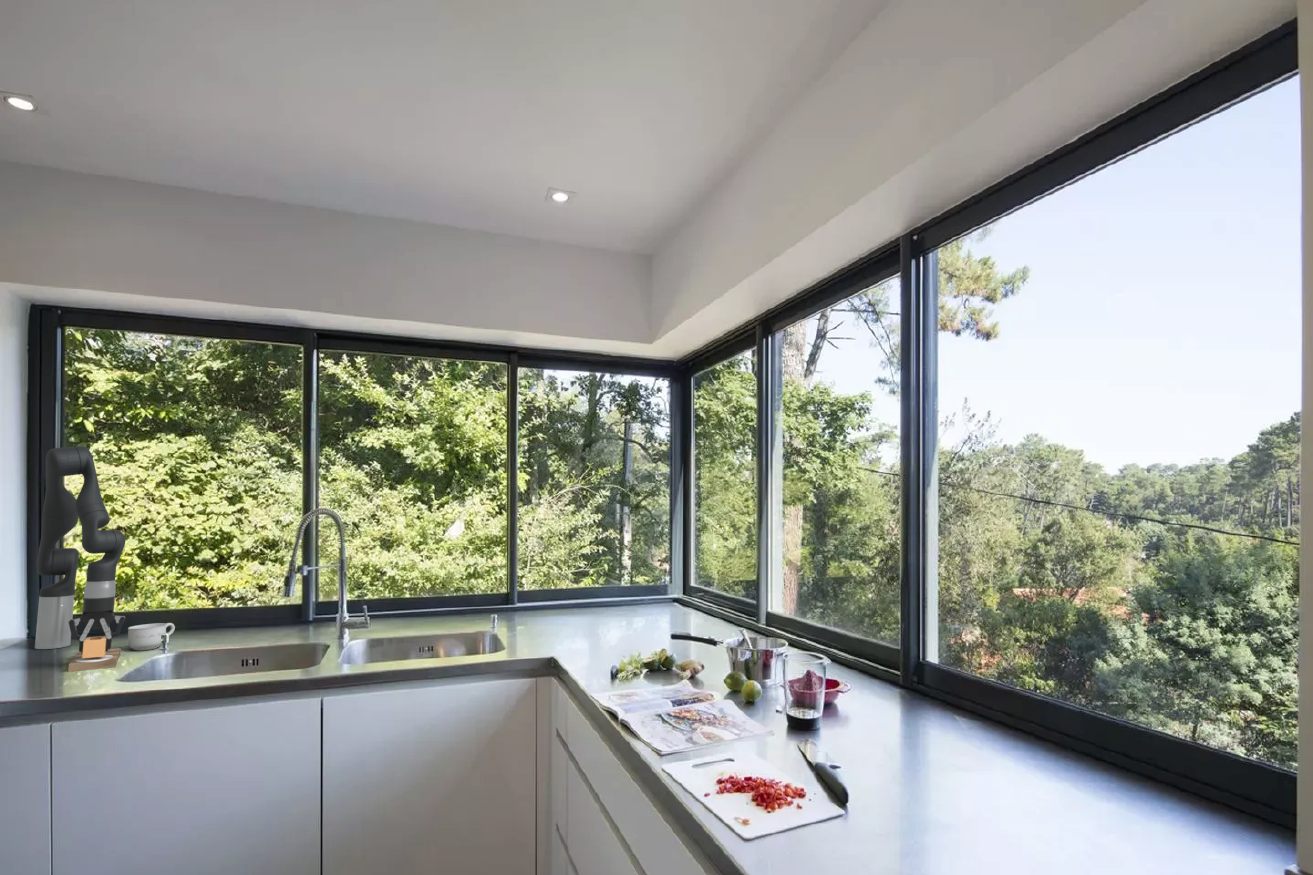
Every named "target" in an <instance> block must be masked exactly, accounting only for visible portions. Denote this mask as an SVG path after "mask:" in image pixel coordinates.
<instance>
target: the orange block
mask: <svg viewBox="0 0 1313 875" xmlns="http://www.w3.org/2000/svg"><path fill="white" fill-rule="evenodd" d="M106 639H107V637H106V635H103V636H102V635H100V636H88V637H87V636H86V638H85V640H84V644H83V656H82V658H92V657H103V656H105V654H106V652H105V649H106Z"/></svg>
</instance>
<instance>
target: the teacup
mask: <svg viewBox="0 0 1313 875" xmlns="http://www.w3.org/2000/svg"><path fill="white" fill-rule="evenodd" d="M168 627H170V630H169V631H168V632H167V628H168ZM175 628H176V626H175V624H174V623H172V622H167V623H163V622H161V623H160V622H157V623H155V622H154V623H147V624H139V625H132V626H129V627H128V628H127V630H128V631H127V644H128V646H129V647H130V648H132V649H133V650H134V651H148V650H154V649H158V648H160V647H161V645H162V644H161V635H163V634H168V635H169V636H171V635H172V634H174V632H175ZM169 636H168V637H169ZM159 646H160V647H159ZM157 647H158V648H157Z"/></svg>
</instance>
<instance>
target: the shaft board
mask: <svg viewBox="0 0 1313 875" xmlns="http://www.w3.org/2000/svg"><path fill="white" fill-rule="evenodd" d="M121 650H122V648H118V647H117V648H110V649H109V650H108V652H106V654H105V656H103V657H92V658H82V656H83V654H81V652H79V651H77V652H76V653H75V655H74V657H73V658H72V659H71V661H70V662H69V664H68V670H67V671H68V672H69V671H70V672H76V671H77V672H78V671H90V670H89V669H91V670H100V669H109V668H116V666H117V664H118V662H119V659H120V657H121V654H122V652H121Z"/></svg>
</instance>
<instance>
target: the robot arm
mask: <svg viewBox="0 0 1313 875" xmlns="http://www.w3.org/2000/svg"><path fill="white" fill-rule="evenodd" d="M97 474H98V473H97V469H96V465H95V460H94V458H93V455H92V453H91V450H90V449H89V448H88V447H87V446H84V445H78V446H77V445H75V446H65V447H55V448H51V449H49V450H48V451H47V454H46V456H45V495H44V502H43V507H42V508H43V509H42V516H41V517H42V518H41V537H40V541H39V542H40V543H39V548H38V553H37V559H36V566H35V567H36V572H37V574H38V575H39V576H41V577H42V576H43V577H51V576H52V577H53V576H54V577H55V576H64V577H63V578H62V579H60V580H59V581H57V582H55V583H52V584H49V585H45V586H43V587H41V588H40V589H39V595H38V596H39V597H38V608H37V609H38V610H37V619H36V620H37V621H36V632H35V640H34V641H35V642H34V649H35V650H52V649H60V648H61V649H62V648H65V647H69V646H71V639H72V640H76V641H79V644H78V652H81V654H83V644H84V640H85V639H86V637H87V636H88V634H89V633H90V631H92V630H93V631H94V630H103V632H104V634H105V635H104V636H106V637H107V639H106V649H105V652H108V650H109V649H112V640H113V638H115V637H119V635H121V634H120V633H121V631H122V627H123V625H124V622H125V620H126V616H125V615H116V614H115V612H114V610H115V599H116V593H117V592H116V586H117V585H116V572H117V567H118V564H119V561H120V559H121V556H122V553H123V552H124V548H125V546H126V537H125V534H124V533H123V531H121V530H119V529H102V528H104V527H106V526H108V524H109V523H110V521H111V518H110V515H109V513H108V509H107V508H106V505H105V503H104V501H103V497H102V495H101V490H100V484H99V479H98V475H97ZM76 475H77V476H78V475H82V476H83V484H82V487H81V489H80V491H79V493H78V495H77V497H75V496H74V495H73V494H72V493H71V492H70V491H69V490H68V489H67V487H65V485H64V484H63V483H62V478H63V477H68V476H69V477H70V476H76ZM78 521H79V522H80V523H81V545H82V548H83V550H84V551H85V552H86V553H88V554H93V555H94V554H104V555H103V556H102V557H101V558H100V559H99V560H94V561H91V562H90V563H88V565H87V569H86V572H87V573H86V580H85V581H86V583H85V585H84V586H85V587H84V589H83V590H84V593H83V602H82V603H83V604H82V613H81V616H80V617H78V618H73V616H74V608H75V607H74V604H75V595H76V594H75V592H76V582H77V580H76V578H77V573H78V565H79V560H80V559H79V557H80V556H79V555H80V554H79V550H78V549H77V548H75V547H63V548H61V547H60V548H55V545H56V544H57V543H58V542H59V541H60V540H61V539H62V538H63V537H65V536H66V535H67V534H69V532H71V531H72V530H73V529H74V528H76V525H77V524H78ZM101 529H102V530H101ZM114 620H115V622H116V624H117V625H116V626H117V627H116V628H115V631H114V632H112V631H111V628H110V624H111V623H112V621H114ZM80 622H81V623H82V625H83V626H84V627H85V628H84V629H83V632H82V634H81V635H80V634H79V633H78V632H79V631H78V628H77V626H78V625H79V623H80Z"/></svg>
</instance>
